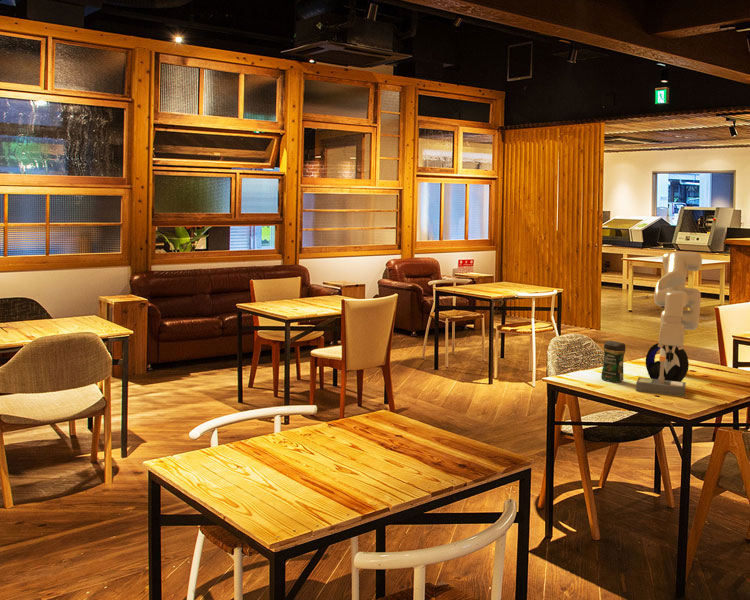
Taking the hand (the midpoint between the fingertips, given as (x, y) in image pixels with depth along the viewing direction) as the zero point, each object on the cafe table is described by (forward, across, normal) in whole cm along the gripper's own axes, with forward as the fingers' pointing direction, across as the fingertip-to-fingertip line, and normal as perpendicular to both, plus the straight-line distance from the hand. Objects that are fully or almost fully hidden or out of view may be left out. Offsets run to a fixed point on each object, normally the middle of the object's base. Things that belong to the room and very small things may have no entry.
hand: (669, 361), depth 341 cm
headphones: (+14, +1, -15) cm, 21 cm away
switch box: (+14, +3, -1) cm, 14 cm away
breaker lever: (+9, +3, -1) cm, 9 cm away
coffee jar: (+14, +25, -12) cm, 30 cm away
